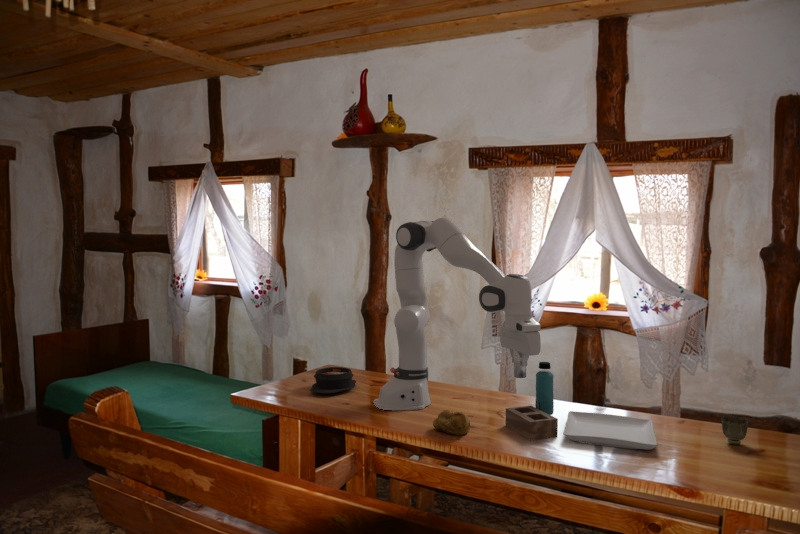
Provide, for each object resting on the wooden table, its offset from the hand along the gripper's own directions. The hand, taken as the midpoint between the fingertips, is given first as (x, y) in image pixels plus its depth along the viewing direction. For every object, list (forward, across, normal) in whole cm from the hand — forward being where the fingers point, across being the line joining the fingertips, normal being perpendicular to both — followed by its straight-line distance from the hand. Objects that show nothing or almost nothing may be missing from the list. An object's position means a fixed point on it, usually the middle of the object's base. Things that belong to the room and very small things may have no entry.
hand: (519, 364), depth 190 cm
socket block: (+23, +1, +3) cm, 23 cm away
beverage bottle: (+23, -11, +16) cm, 30 cm away
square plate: (+24, +13, +25) cm, 37 cm away
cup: (+25, +32, +57) cm, 70 cm away
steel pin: (+4, 0, 0) cm, 4 cm away
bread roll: (+22, -8, -22) cm, 32 cm away
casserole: (+20, -73, -48) cm, 90 cm away
